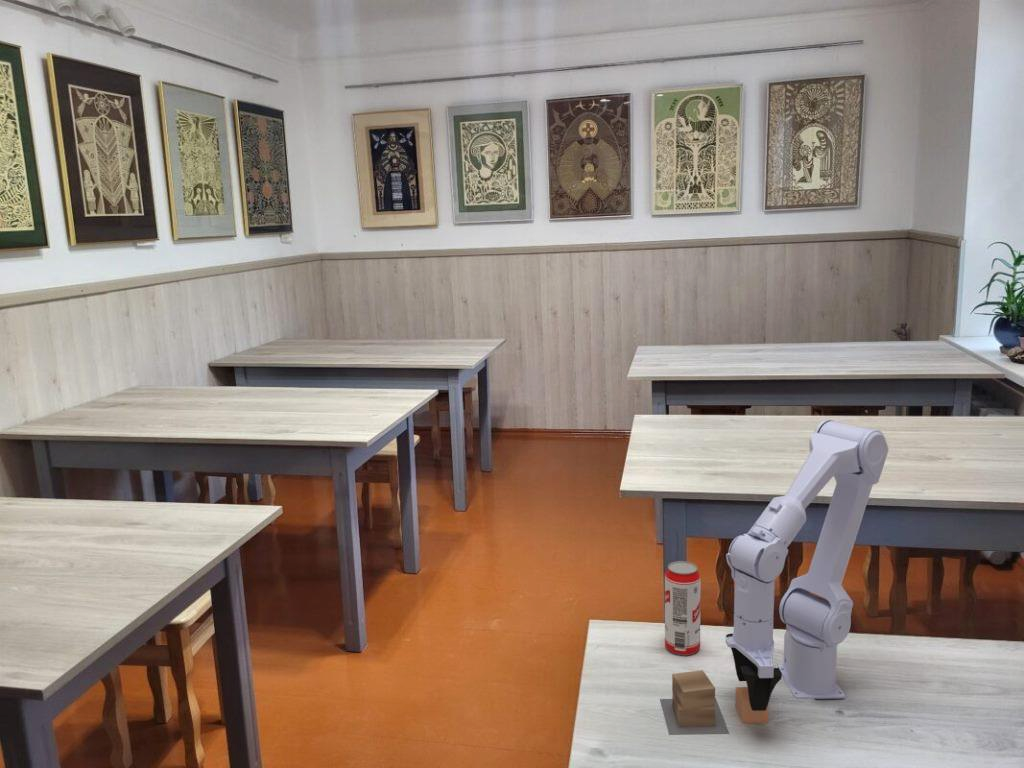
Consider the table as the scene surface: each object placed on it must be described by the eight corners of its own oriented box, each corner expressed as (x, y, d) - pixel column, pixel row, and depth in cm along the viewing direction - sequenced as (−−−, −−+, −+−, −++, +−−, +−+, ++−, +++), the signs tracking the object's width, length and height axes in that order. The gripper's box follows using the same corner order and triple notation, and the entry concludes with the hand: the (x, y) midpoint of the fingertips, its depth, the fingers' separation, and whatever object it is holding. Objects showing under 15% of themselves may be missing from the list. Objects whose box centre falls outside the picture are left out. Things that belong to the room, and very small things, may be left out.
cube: (735, 709, 123) (735, 687, 122) (760, 709, 123) (761, 686, 122) (741, 725, 119) (742, 702, 118) (768, 725, 119) (768, 702, 118)
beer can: (662, 656, 139) (662, 572, 136) (666, 638, 145) (666, 558, 142) (698, 660, 137) (699, 576, 134) (701, 642, 143) (701, 561, 140)
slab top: (672, 691, 123) (672, 673, 122) (702, 687, 124) (702, 670, 123) (683, 710, 118) (683, 692, 117) (715, 705, 119) (715, 688, 118)
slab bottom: (672, 705, 124) (672, 688, 124) (707, 704, 124) (707, 687, 123) (678, 727, 119) (678, 709, 118) (714, 726, 119) (715, 708, 118)
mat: (659, 701, 126) (659, 698, 126) (715, 700, 126) (715, 697, 126) (669, 736, 117) (669, 734, 117) (729, 735, 117) (729, 733, 117)
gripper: (716, 591, 125) (714, 668, 127) (739, 638, 111) (737, 723, 113) (760, 590, 125) (758, 667, 127) (789, 637, 110) (786, 723, 113)
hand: (751, 694), depth 120 cm, fingers open, 7 cm apart
